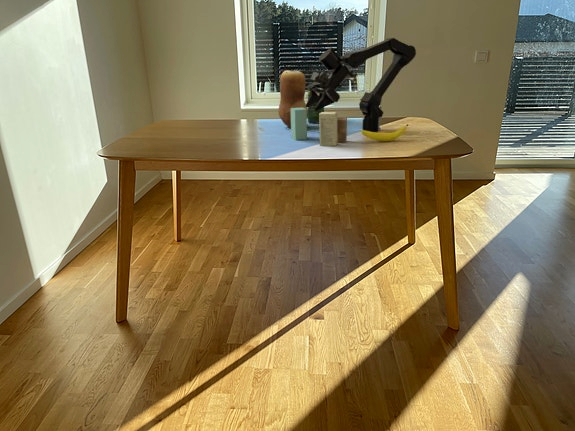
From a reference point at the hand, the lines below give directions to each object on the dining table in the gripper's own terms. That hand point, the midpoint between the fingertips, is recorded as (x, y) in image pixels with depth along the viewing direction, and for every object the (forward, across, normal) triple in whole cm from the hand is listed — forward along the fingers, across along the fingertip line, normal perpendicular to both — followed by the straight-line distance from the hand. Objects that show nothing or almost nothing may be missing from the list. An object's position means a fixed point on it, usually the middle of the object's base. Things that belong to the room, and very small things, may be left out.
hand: (310, 108), depth 171 cm
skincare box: (+8, +15, +9) cm, 19 cm away
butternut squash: (+8, -22, +9) cm, 25 cm away
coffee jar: (-2, -29, +19) cm, 35 cm away
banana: (-8, +20, +24) cm, 32 cm away
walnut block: (+3, +13, +13) cm, 19 cm away
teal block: (+12, 0, +5) cm, 13 cm away
